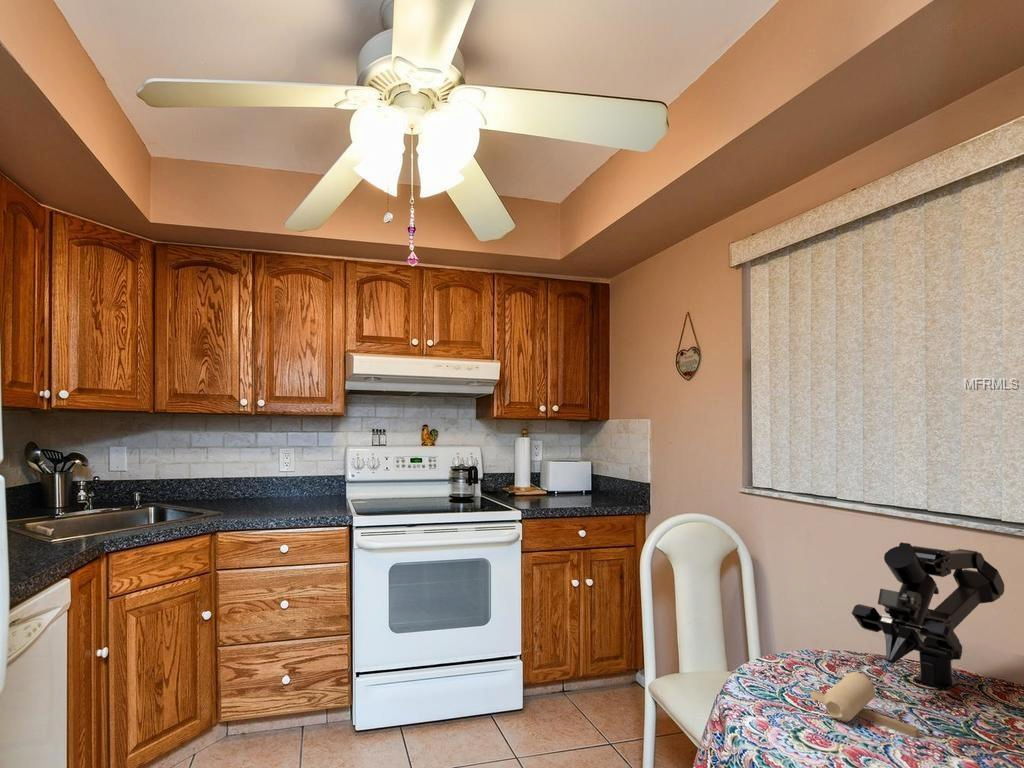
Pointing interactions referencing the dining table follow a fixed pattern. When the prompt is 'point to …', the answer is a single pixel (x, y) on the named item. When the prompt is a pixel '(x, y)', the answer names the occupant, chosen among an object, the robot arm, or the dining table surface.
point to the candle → (849, 696)
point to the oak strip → (877, 718)
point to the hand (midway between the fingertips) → (889, 662)
